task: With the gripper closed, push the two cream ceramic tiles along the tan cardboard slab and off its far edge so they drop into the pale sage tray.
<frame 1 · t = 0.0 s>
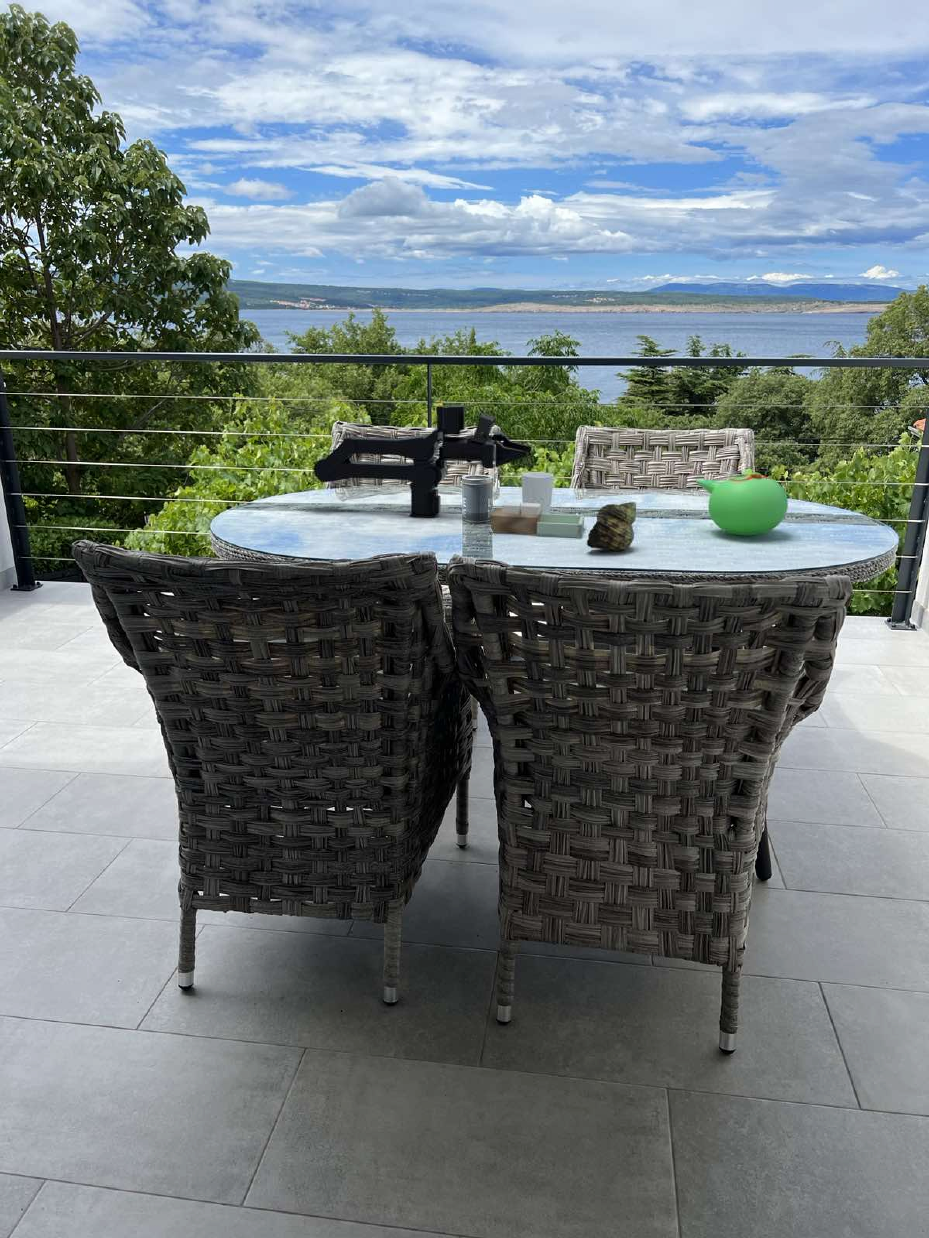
hand: (529, 451, 236), 17 cm above the table, tool horizontal, fingers open, 9 cm apart
seashell: (608, 550, 212), on the table
tile a: (511, 512, 229), point 4 cm above the table, touching tan cardboard slab
white cup: (536, 515, 247), on the table
tile b: (530, 513, 228), point 4 cm above the table, touching tan cardboard slab
tan cardboard slab: (515, 529, 230), on the table
green teapot: (743, 535, 228), on the table
tray: (560, 531, 228), on the table
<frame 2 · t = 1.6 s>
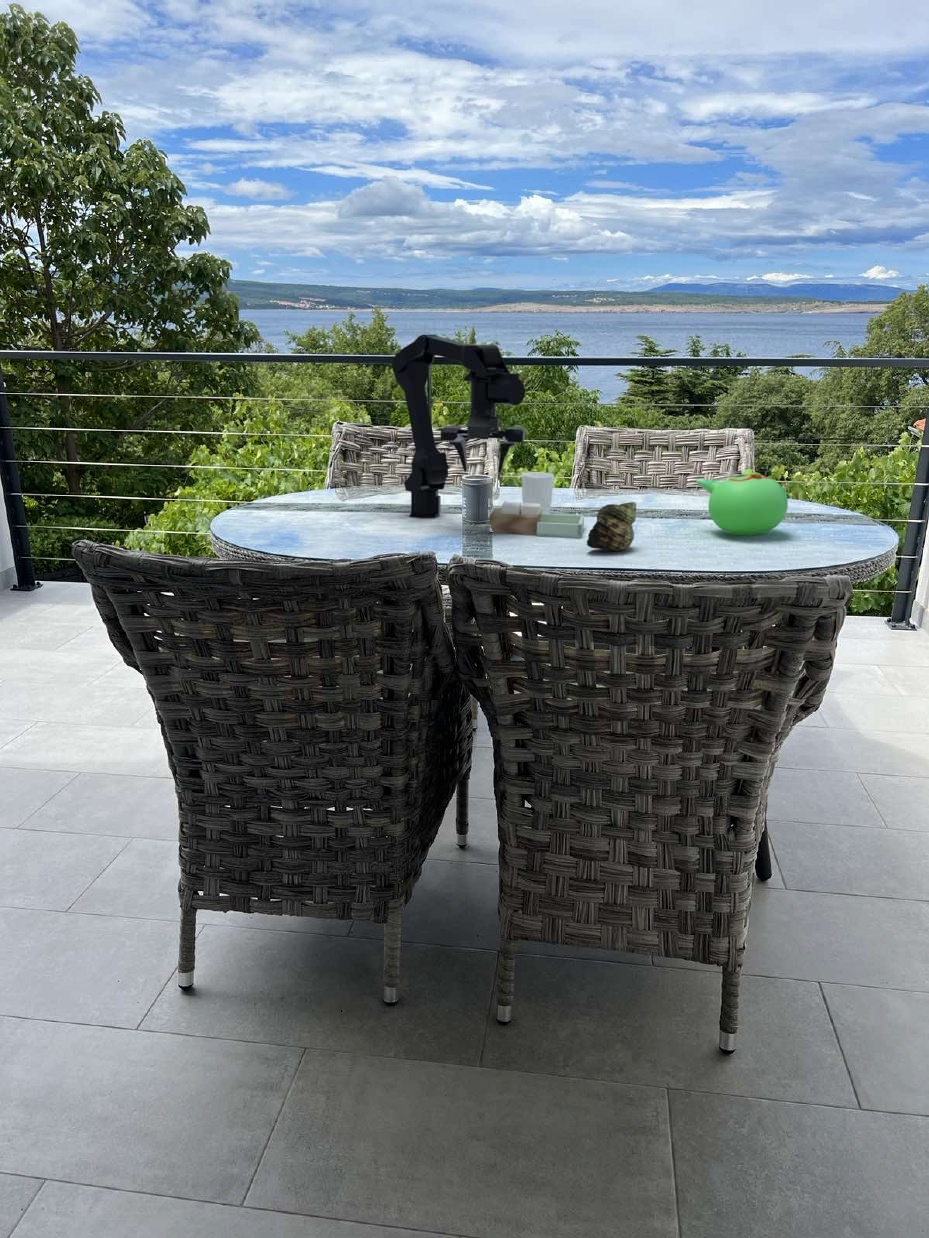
hand: (482, 472, 227), 13 cm above the table, tool pointing down, fingers open, 8 cm apart
nothing on the table moved.
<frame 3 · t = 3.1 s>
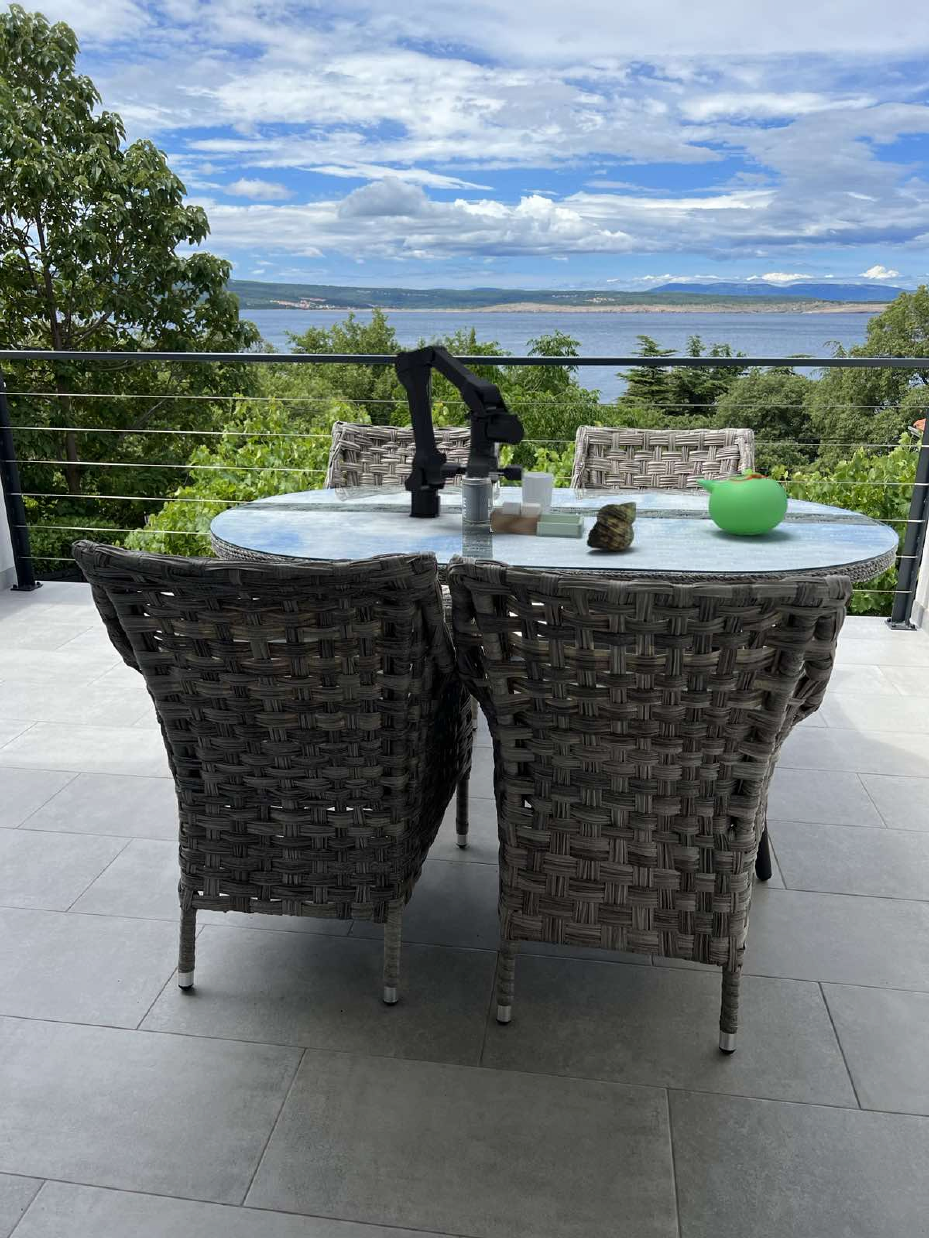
hand: (481, 508, 230), 5 cm above the table, tool pointing down, fingers closed
nothing on the table moved.
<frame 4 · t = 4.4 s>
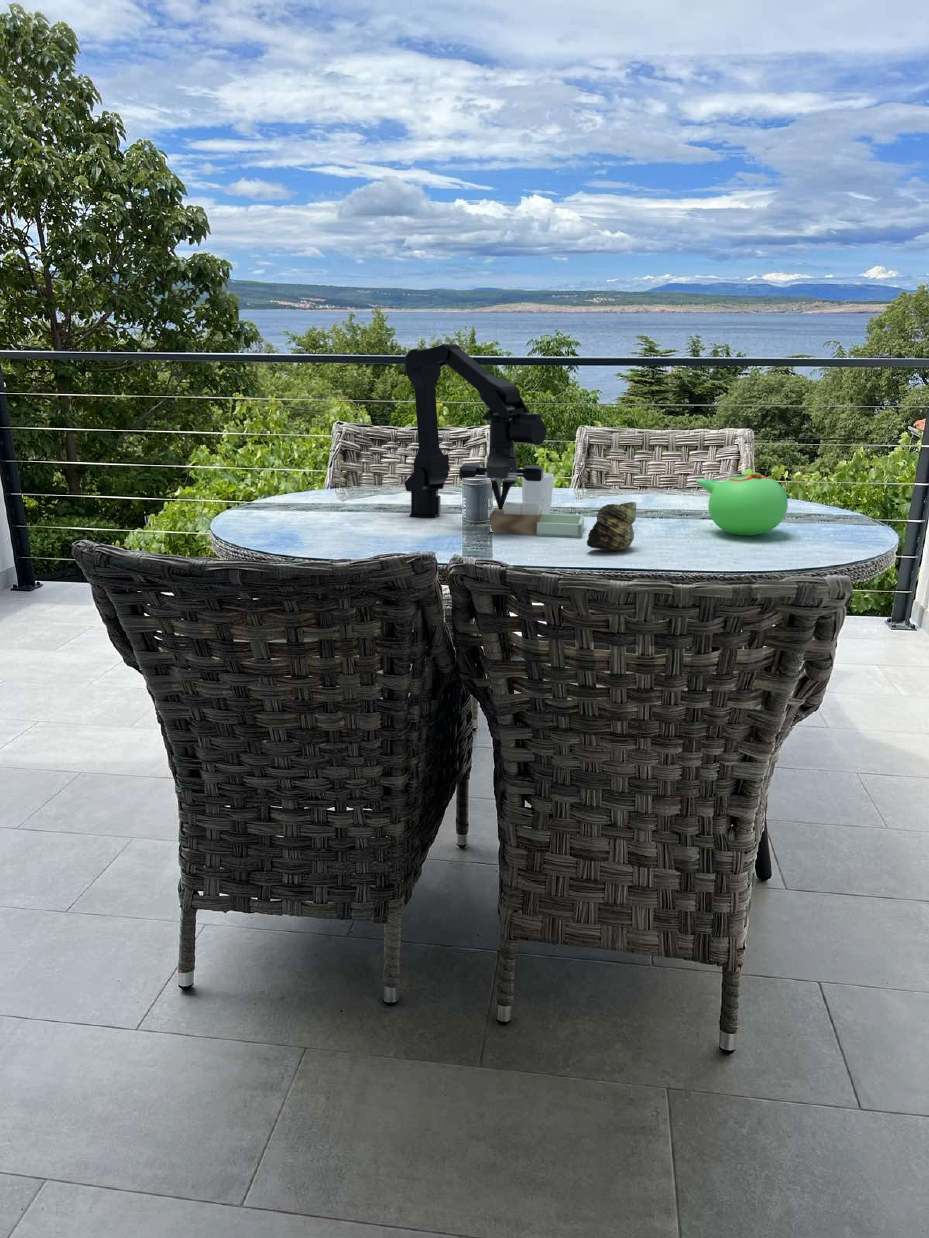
hand: (500, 509, 229), 5 cm above the table, tool pointing down, fingers closed
tile a: (513, 512, 229), point 4 cm above the table, touching tan cardboard slab, gripper
everything else where it was.
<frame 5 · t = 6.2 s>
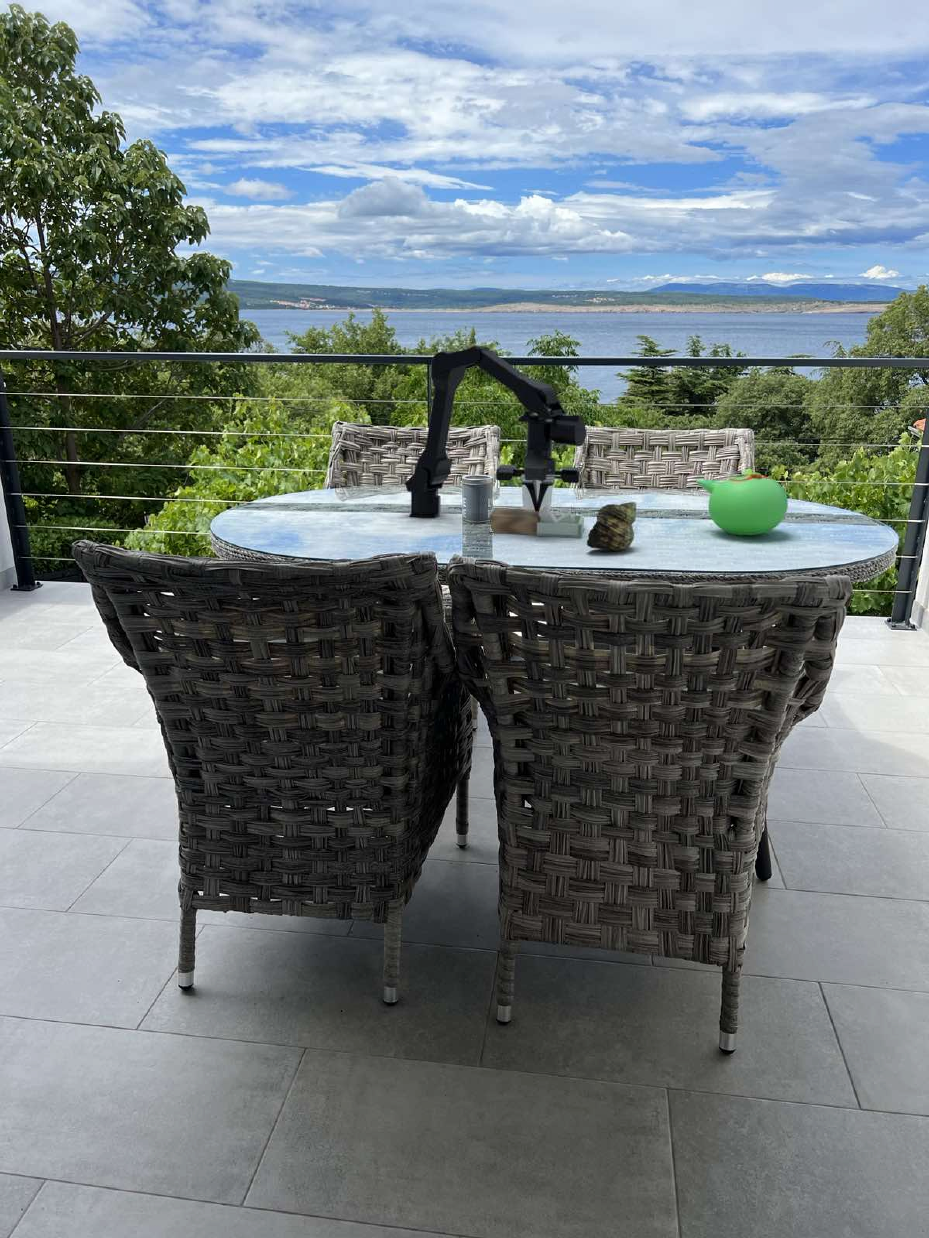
hand: (537, 511, 228), 5 cm above the table, tool pointing down, fingers closed
tile a: (544, 519, 228), point 3 cm above the table, tilted 50°
tile b: (562, 517, 227), point 3 cm above the table, tilted 145°, touching tray
everything else where it was.
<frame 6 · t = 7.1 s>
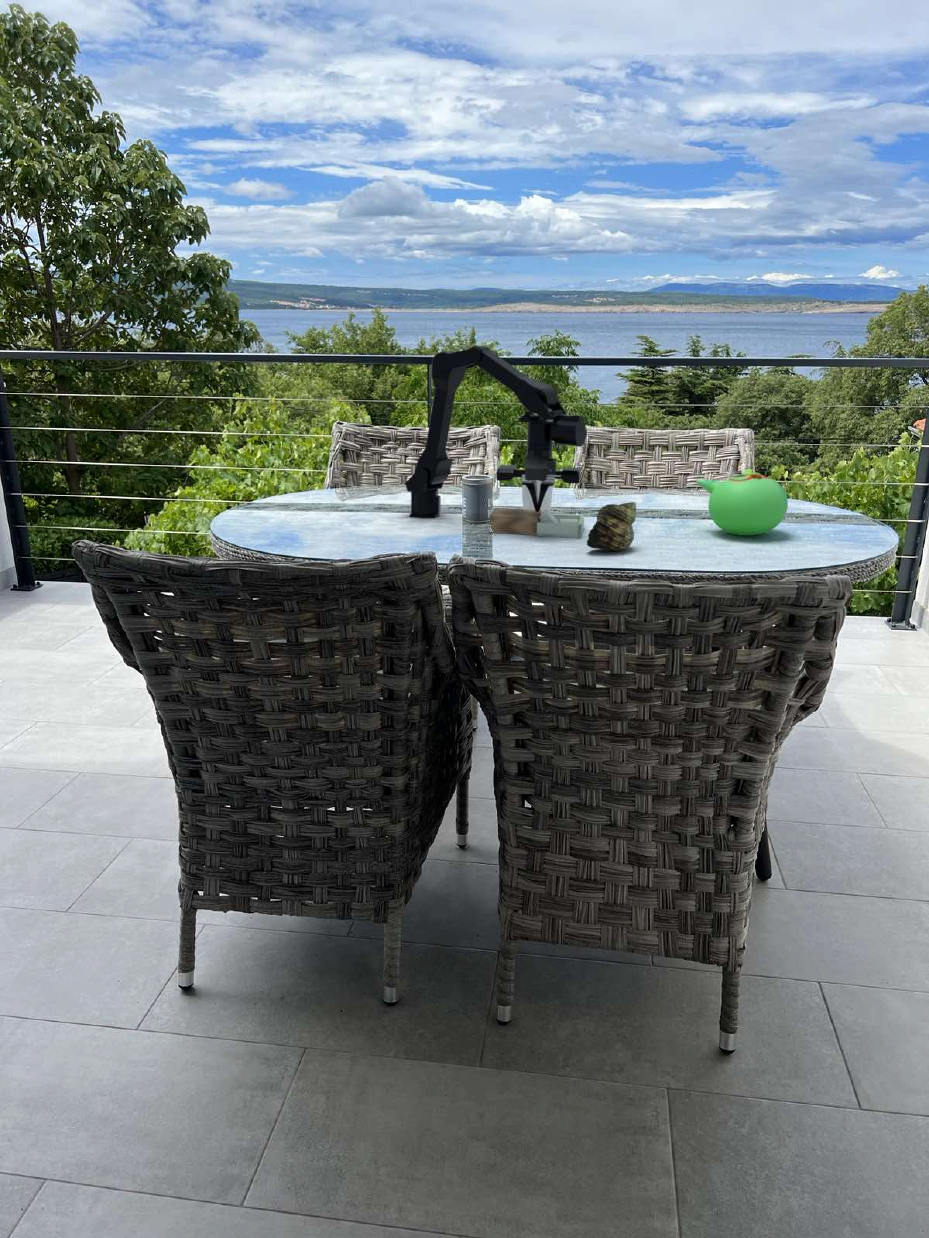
hand: (537, 511, 228), 5 cm above the table, tool pointing down, fingers closed
tile a: (545, 522, 228), point 2 cm above the table, tilted 47°, touching tan cardboard slab, tray
tile b: (569, 520, 227), point 3 cm above the table, tilted 180°, touching tray
everything else where it was.
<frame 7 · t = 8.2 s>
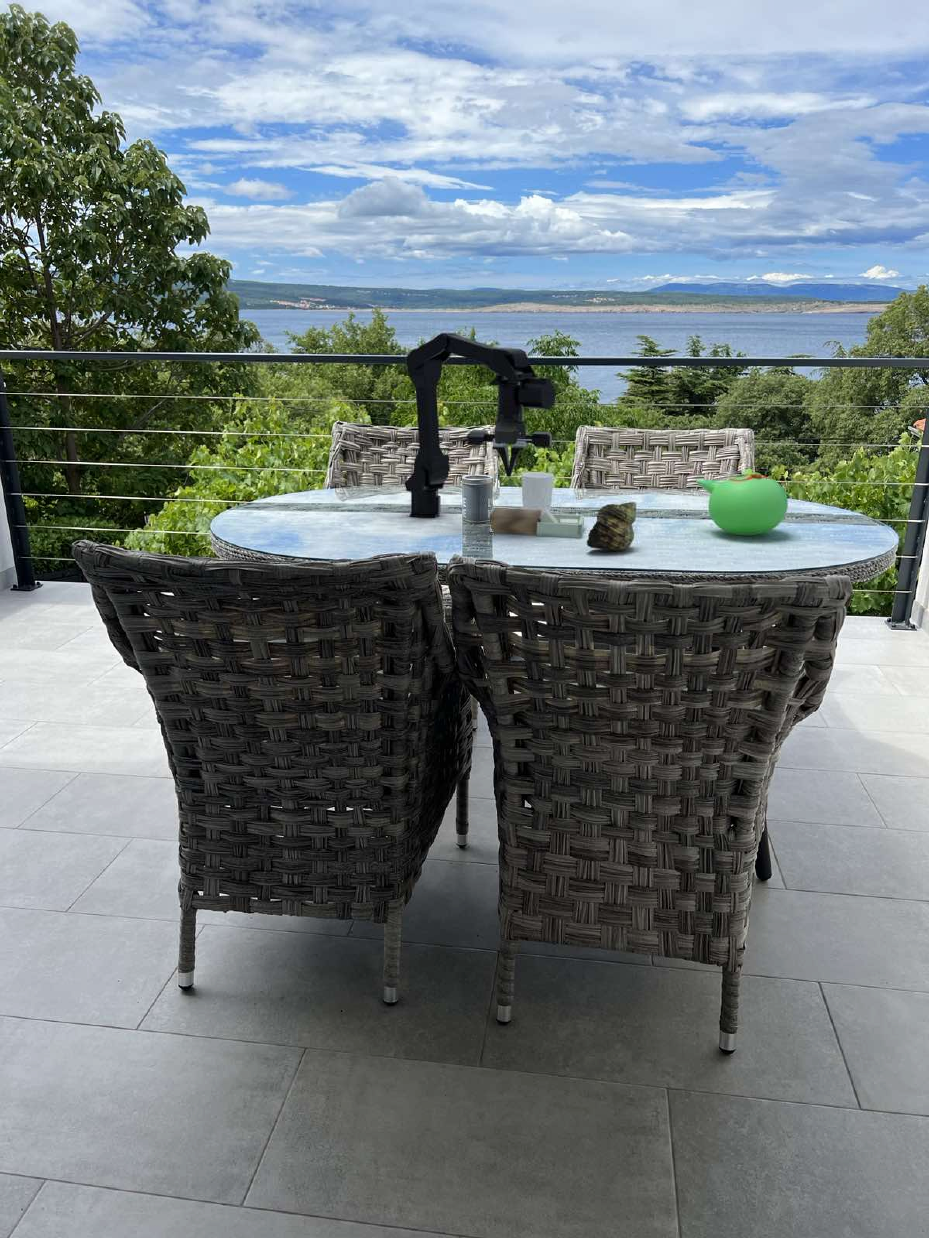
hand: (508, 476, 226), 12 cm above the table, tool pointing down, fingers closed
nothing on the table moved.
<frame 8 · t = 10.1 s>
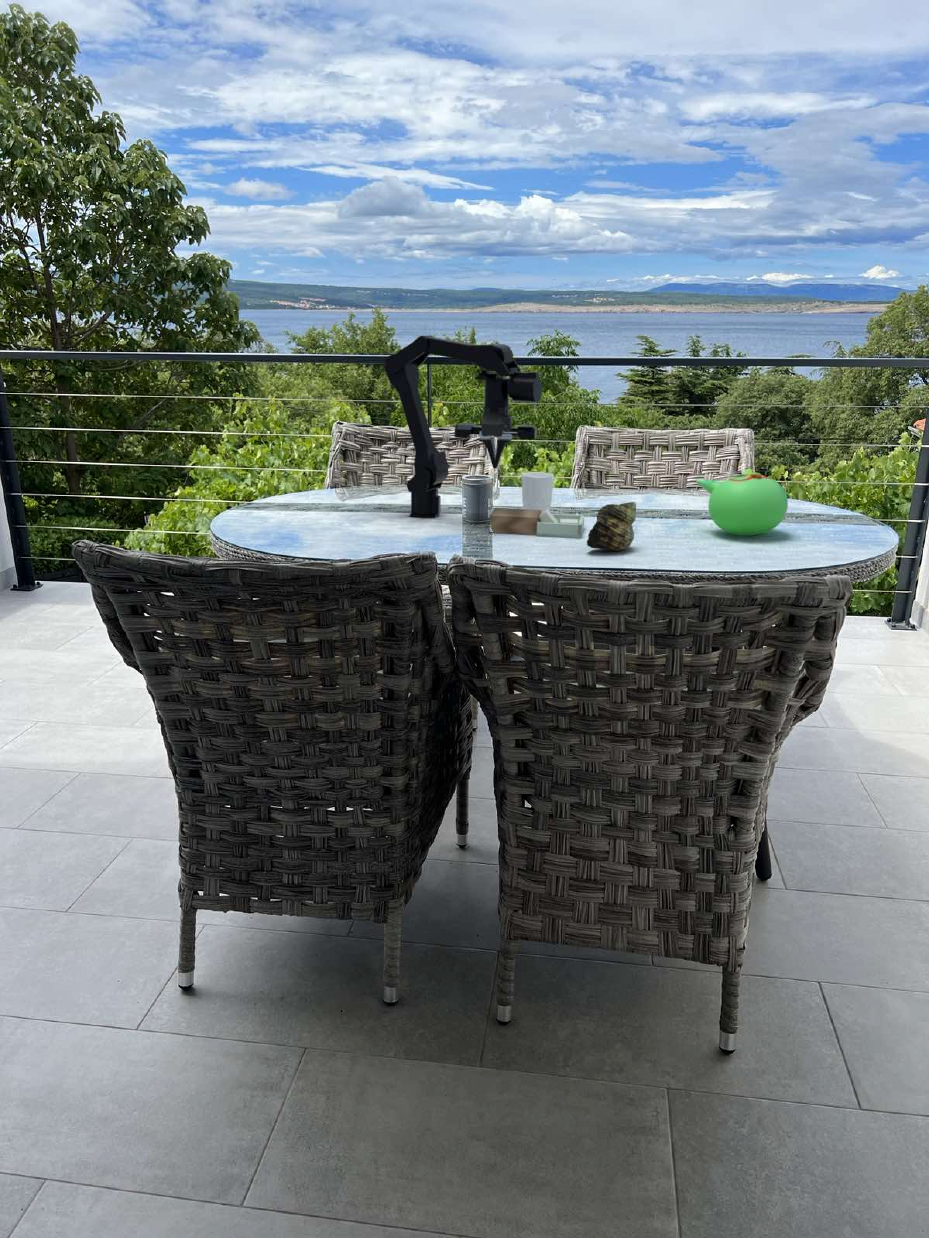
hand: (495, 468, 233), 13 cm above the table, tool pointing down, fingers closed
nothing on the table moved.
at the end: tile a inside the target area (3.6 cm from its centre), point 2.1 cm above the table; tile b inside the target area (1.8 cm from its centre), point 2.6 cm above the table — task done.
